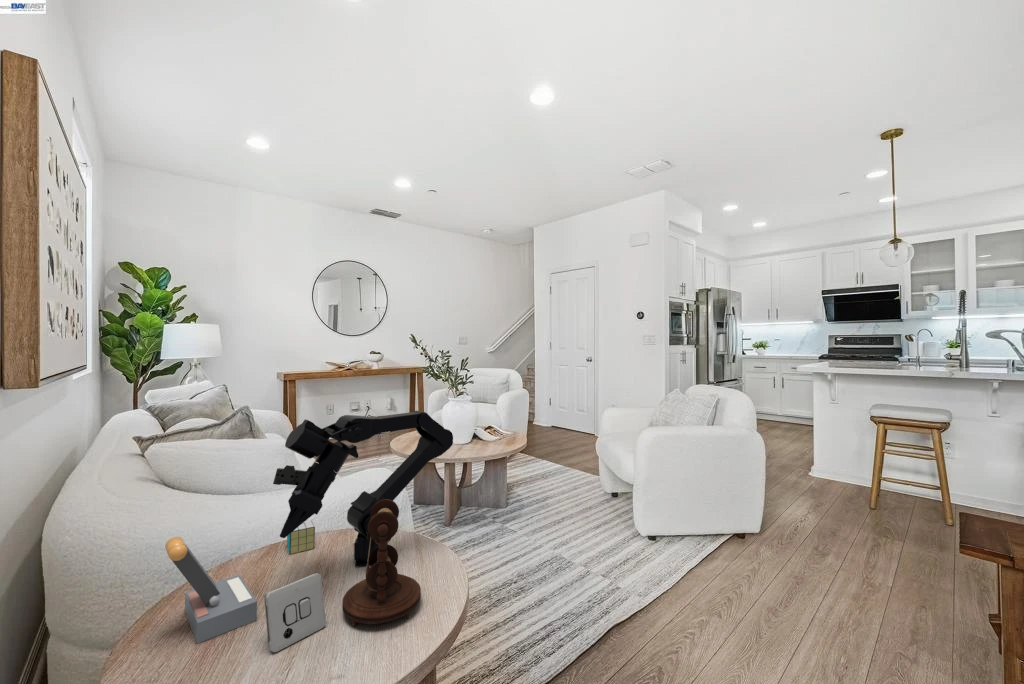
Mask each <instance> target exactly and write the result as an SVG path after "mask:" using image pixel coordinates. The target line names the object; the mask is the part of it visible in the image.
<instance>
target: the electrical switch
mask: <svg viewBox="0 0 1024 684" xmlns="http://www.w3.org/2000/svg"><path fill="white" fill-rule="evenodd" d="M323 593H324V592H323V583H322V576H321V574H319V573H317V572H316V573H313V574H309V575H308V576H305V577H303V578H301V579H298V580H296V581H293V582H291V583H288V584H286V585H283V586H282V587H279V588H277V589H274V590H271V591H269V592H267V594H264V596H263V598H264V608H265V609H264V610H265V620H266V632H267V643H268V645H269V651H270V652H272V653H278V652H280V651H281V650H283V649H285V648H287V647H289V646H291V645H293V644H295V643H296V642H299V641H300V640H302V639H304V638H306V637H309V635H312V634H314V633H316V632H319V630H321V629H323V628H325V626H326V624H327V620H326V613H325V601H324V594H323Z"/></svg>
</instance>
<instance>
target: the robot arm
mask: <svg viewBox="0 0 1024 684" xmlns="http://www.w3.org/2000/svg"><path fill="white" fill-rule="evenodd" d="M409 429H415V430H416V432H417V434H419V436H420V437H419V439H418V442H417V445H416V448H415V449H414V450H413V451H412V452H411V453H410V454H409V455H408V456H407V458H405V460H404V461H402V463H401V464H400V465H399V466H398V467H397V468H396V469H395V470H394V471H393V473H391V474H390V475H389V476H388V477H387V479H386V480H385V481H384V482H383V483H382V484H381V485H380V486H378V488H377V489H376V490H375V491H372V492H367V491H366V490H365V491H362V492H361V493H360V494H359V495H358V497H357V498H356V499H354V501H352V502H350V505H351V506H350V507H349V508H348V510H347V514H346V521H347V523H348V524H349V525H350V526H351V527H353V530H354V531H355V532H357V537H356V538H355V541H354V545H353V550H354V551H353V552H354V553H353V560H354V561H355V564H354V566H355V567H364V566H366V567H367V561H368V554H369V566H371V565H370V555H371V553H372V552H373V550H374V549H375V548H377V547H378V545H379V544H377V543H376V542H375V540H374V539H373V538H371V545H370V537H371V536H370V535H369V533H368V523H369V521H370V519H371V510H372V507H373V506H374V505H375V504H376V503H377V502H378V501H380V500H384V499H389V500H392V501H394V500H395V499H397V497H398V496H399V495H400V493H402V491H404V489H406V487H407V486H408V485H409V484H410V483H411V482H412V480H414V478H415V477H416V476H418V474H419V473H420V472H421V471H422V470H423V468H424V467H425V466H426V465H427V464H428V463H429V462H430V461H432V460H434V459H436V458H438V457H441V456H442V455H443V454H445V453H446V452H447V451H448V450H450V448H451V447H452V446H453V444H454V435H453V433H452V431H451V430H450V429H447V428H445V427H444V426H442V425H441V423H438V421H436V420H435V419H433V418H432V417H431V416H430V415H429V414H428V413H427V412H425V411H420V410H414V411H412V412H410V411H409V412H403V413H401V412H400V413H394V414H389V415H388V414H387V415H386V414H385V415H380V416H366V415H353V414H344V415H342V416H340V417H338V419H336V422H334V423H332V424H329V425H327V426H325V427H323V428H321V427H320V426H318V425H316V424H315V423H314V422H312V420H309V419H304V420H303V422H302V423H301V424H298V426H296V427H295V428H294V429H293V430H291V431H290V433H289V435H288V436H287V438H286V441H285V445H284V446H285V447H284V448H287V449H288V450H290V451H293V452H294V453H297V454H299V455H301V456H302V457H305V458H306V459H309V460H310V459H313V458H314V457H315V459H314V462H313V463H312V464H311V465H310V466H308V468H307V469H306V470H303V469H301V470H300V469H296V468H295V465H287V464H286V465H285V467H282V468H280V467H278V468H276V472H275V474H274V475H275V476H274V479H273V485H275V486H276V485H278V486H280V485H286V486H287V485H289V486H295V488H294V489H293V491H292V492H291V494H290V497H289V498H288V507H289V513H288V515H287V517H286V520H285V522H284V524H283V527H282V528H281V532H280V534H279V537H280V538H282V539H285V538H287V536H288V535H289V534H290V533H291V532H293V531H294V530H295V529H296V528H297V527H299V526H300V525H301V524H302V523H303V522H305V521H306V520H309V518H311V517H313V516H314V515H318V514H319V512H320V511H321V509H322V507H323V499H324V498H325V495H326V493H327V492H328V490H329V488H330V487H331V485H332V484H333V483H334V481H335V480H336V476H337V475H338V473H339V472H340V470H341V469H342V467H343V465H344V464H345V462H346V461H347V460H348V458H349V456H350V457H353V458H355V459H358V458H359V452H358V449H357V447H358V446H357V445H354V444H358V443H361V442H364V441H367V440H370V439H371V438H373V437H374V436H377V435H380V434H385V433H391V432H396V431H397V432H398V431H404V430H409ZM329 439H331V440H335V442H332V441H330V440H329ZM344 441H346V442H348V443H351V444H350V445H348V444H347V443H344ZM369 545H370V553H369Z"/></svg>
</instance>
